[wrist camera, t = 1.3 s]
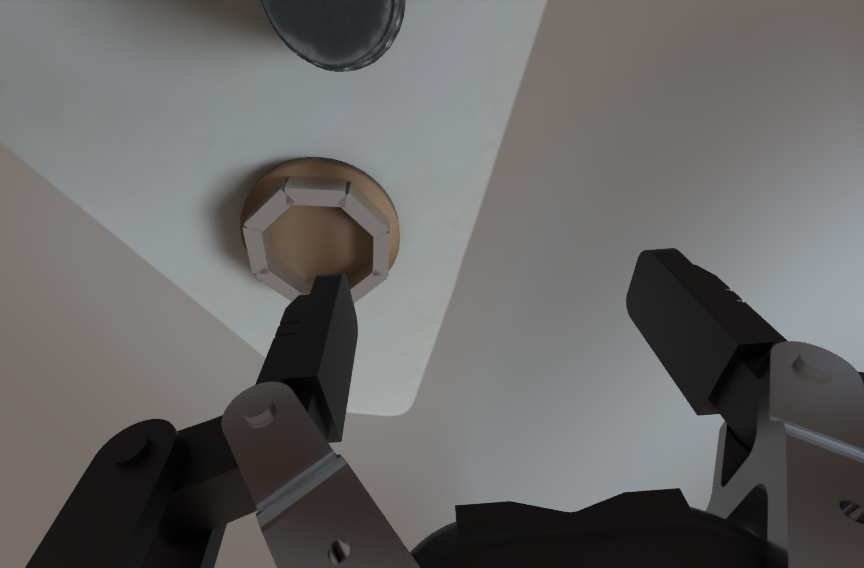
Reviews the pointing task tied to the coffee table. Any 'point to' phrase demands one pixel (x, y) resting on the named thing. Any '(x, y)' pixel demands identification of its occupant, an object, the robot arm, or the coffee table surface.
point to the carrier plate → (319, 227)
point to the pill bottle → (337, 29)
